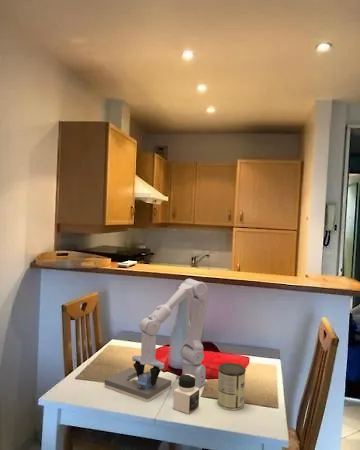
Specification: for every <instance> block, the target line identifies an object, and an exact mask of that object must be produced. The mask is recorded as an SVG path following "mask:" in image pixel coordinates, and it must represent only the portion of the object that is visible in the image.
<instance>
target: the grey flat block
mask: <svg viewBox="0 0 360 450" xmlns="http://www.w3.org/2000/svg"><path fill="white" fill-rule="evenodd" d="M144 373H145V371H144ZM137 381H138V376H137V372H136V370H135V368H132V367H129V368H126V369H125V370H122V371H119V372H118V373H116V374H114V375H111V376H109V377H107V378H105V379H104V388H107V389H110V390H112V391H114V392H118V393H121V394H124V395H127V396H130V397H133V398H135V399H137V400H141V401H143V402H146V403H149V402H150V401H151V400H153V399H155V398H157V397H159V396H160V395H162V394H163V393H165V392H167V391H168V390H170V389H171V388H172V380H170V379H168V378H164V377H160V376H158V378H157V381H156V384H155V385H153V386H152V387H150V388H148V389H143V388H140V389H139V388H138V383H136V382H137Z"/></svg>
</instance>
